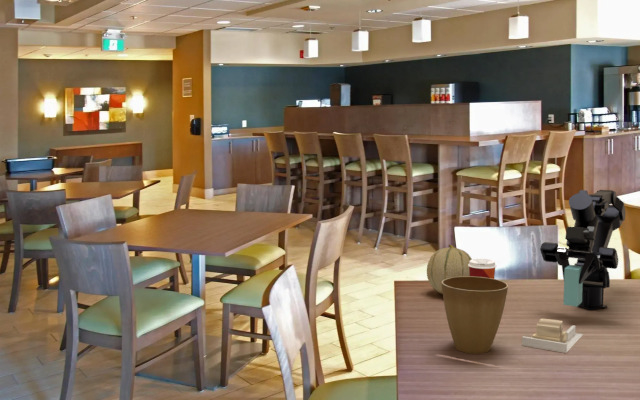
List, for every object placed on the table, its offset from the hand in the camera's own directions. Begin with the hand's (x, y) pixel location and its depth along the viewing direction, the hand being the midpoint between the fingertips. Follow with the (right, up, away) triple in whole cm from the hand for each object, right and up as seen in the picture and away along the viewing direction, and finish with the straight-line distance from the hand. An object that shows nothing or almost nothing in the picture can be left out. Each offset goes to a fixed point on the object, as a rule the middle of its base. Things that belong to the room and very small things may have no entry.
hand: (572, 281), depth 178 cm
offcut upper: (-11, -10, -15) cm, 21 cm away
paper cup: (-19, -10, +17) cm, 27 cm away
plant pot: (-29, -14, -17) cm, 36 cm away
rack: (-9, -13, -11) cm, 19 cm away
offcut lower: (-11, -13, -15) cm, 22 cm away
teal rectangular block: (+1, -6, +2) cm, 6 cm away
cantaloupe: (-25, -8, +34) cm, 43 cm away
